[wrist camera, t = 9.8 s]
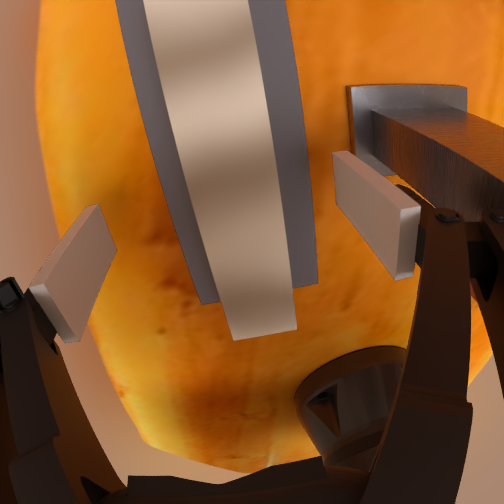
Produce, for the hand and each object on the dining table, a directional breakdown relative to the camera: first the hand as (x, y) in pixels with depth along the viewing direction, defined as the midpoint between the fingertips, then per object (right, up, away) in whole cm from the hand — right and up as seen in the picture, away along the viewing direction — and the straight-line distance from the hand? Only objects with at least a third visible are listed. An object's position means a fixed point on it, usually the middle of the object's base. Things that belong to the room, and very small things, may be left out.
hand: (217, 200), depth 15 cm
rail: (0, +3, +3) cm, 5 cm away
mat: (0, +4, +4) cm, 5 cm away
